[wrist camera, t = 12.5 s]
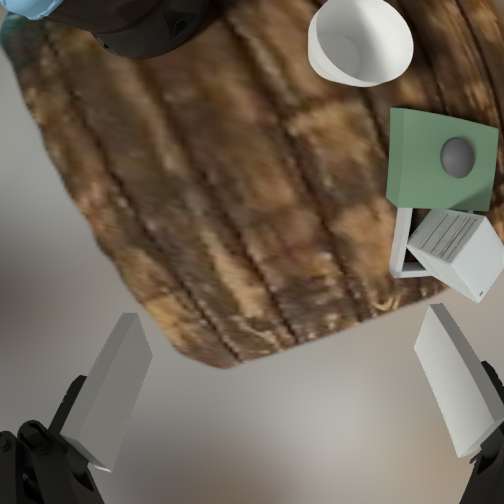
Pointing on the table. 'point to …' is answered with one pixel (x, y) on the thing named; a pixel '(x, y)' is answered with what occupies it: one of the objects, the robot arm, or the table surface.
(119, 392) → the robot arm
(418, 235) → the supplement box
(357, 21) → the cup
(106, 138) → the table surface
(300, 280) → the table surface
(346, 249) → the table surface
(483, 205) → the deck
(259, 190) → the table surface
